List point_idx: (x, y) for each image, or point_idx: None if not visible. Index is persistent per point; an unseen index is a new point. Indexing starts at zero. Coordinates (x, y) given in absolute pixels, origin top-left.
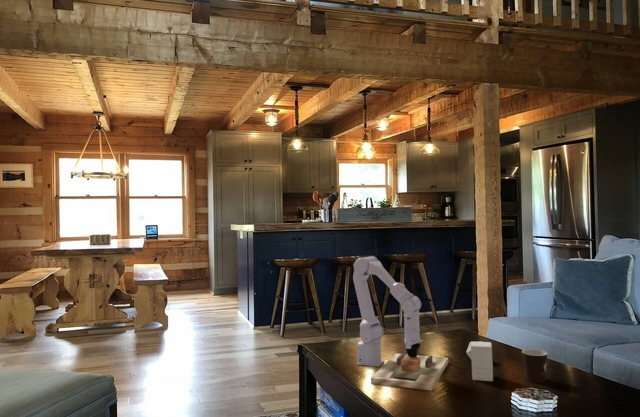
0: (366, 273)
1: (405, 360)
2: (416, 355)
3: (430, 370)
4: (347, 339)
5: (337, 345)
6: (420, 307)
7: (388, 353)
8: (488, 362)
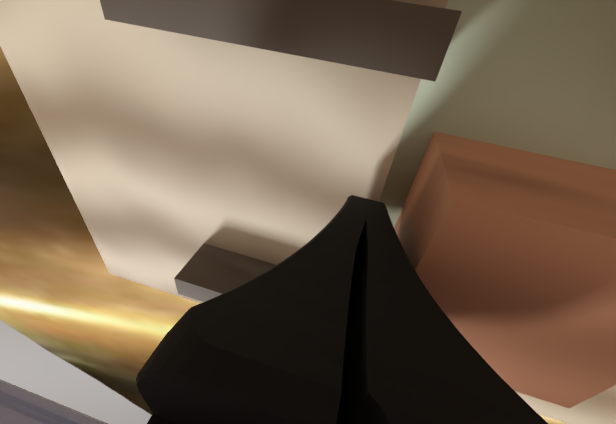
0: None
1: (611, 384)
2: (376, 251)
3: None
4: (48, 349)
5: (118, 376)
6: None
7: (87, 273)
8: None
